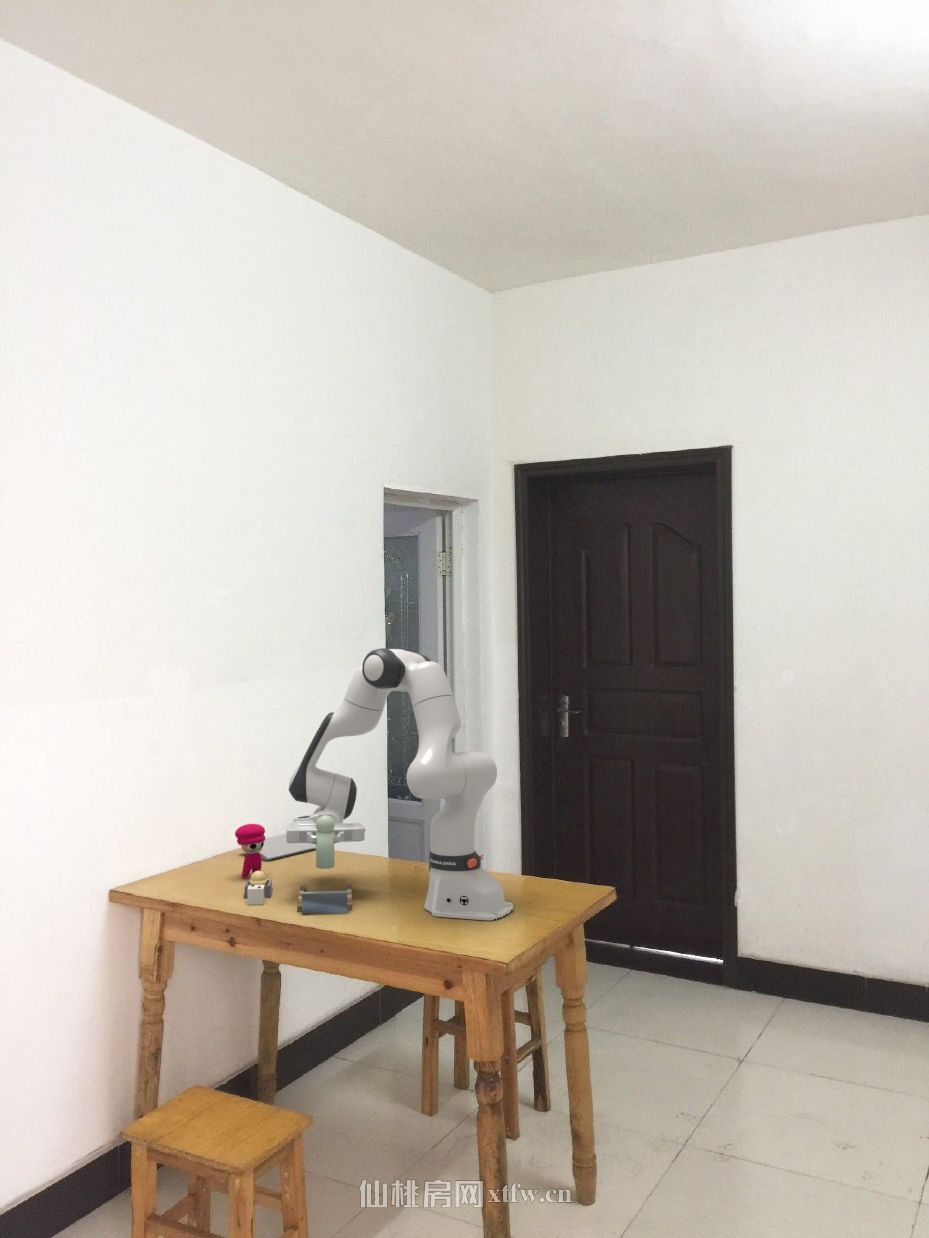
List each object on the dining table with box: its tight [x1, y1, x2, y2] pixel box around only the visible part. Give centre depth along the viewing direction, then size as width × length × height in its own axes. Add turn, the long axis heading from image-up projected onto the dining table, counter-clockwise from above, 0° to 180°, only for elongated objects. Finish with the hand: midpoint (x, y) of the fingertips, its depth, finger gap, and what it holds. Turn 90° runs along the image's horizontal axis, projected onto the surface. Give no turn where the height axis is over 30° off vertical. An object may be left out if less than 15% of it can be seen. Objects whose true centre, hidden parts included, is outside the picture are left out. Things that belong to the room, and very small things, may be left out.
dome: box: [249, 870, 268, 885], centre depth 278 cm, size 4×4×4 cm
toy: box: [234, 823, 266, 879], centre depth 295 cm, size 8×8×15 cm
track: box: [296, 882, 353, 915], centre depth 272 cm, size 24×14×5 cm, turn 7°
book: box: [238, 833, 316, 861], centre depth 326 cm, size 15×23×4 cm, turn 141°
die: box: [247, 884, 266, 906], centre depth 270 cm, size 4×4×4 cm
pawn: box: [315, 815, 335, 870], centre depth 268 cm, size 5×5×13 cm
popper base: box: [243, 879, 274, 900], centre depth 278 cm, size 7×7×3 cm
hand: (325, 839), depth 267 cm, fingers closed on pawn, 5 cm apart
